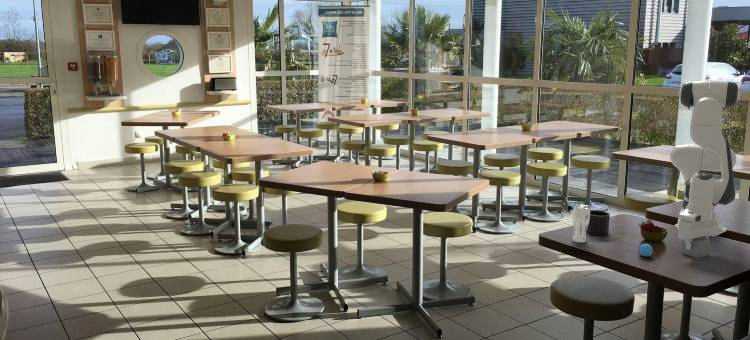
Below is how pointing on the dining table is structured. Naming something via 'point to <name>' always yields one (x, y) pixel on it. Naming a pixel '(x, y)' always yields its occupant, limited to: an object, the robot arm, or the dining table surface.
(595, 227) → the mug
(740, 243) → the dining table surface
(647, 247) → the ball
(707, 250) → the grey block
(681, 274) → the dining table surface
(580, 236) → the beer glass
